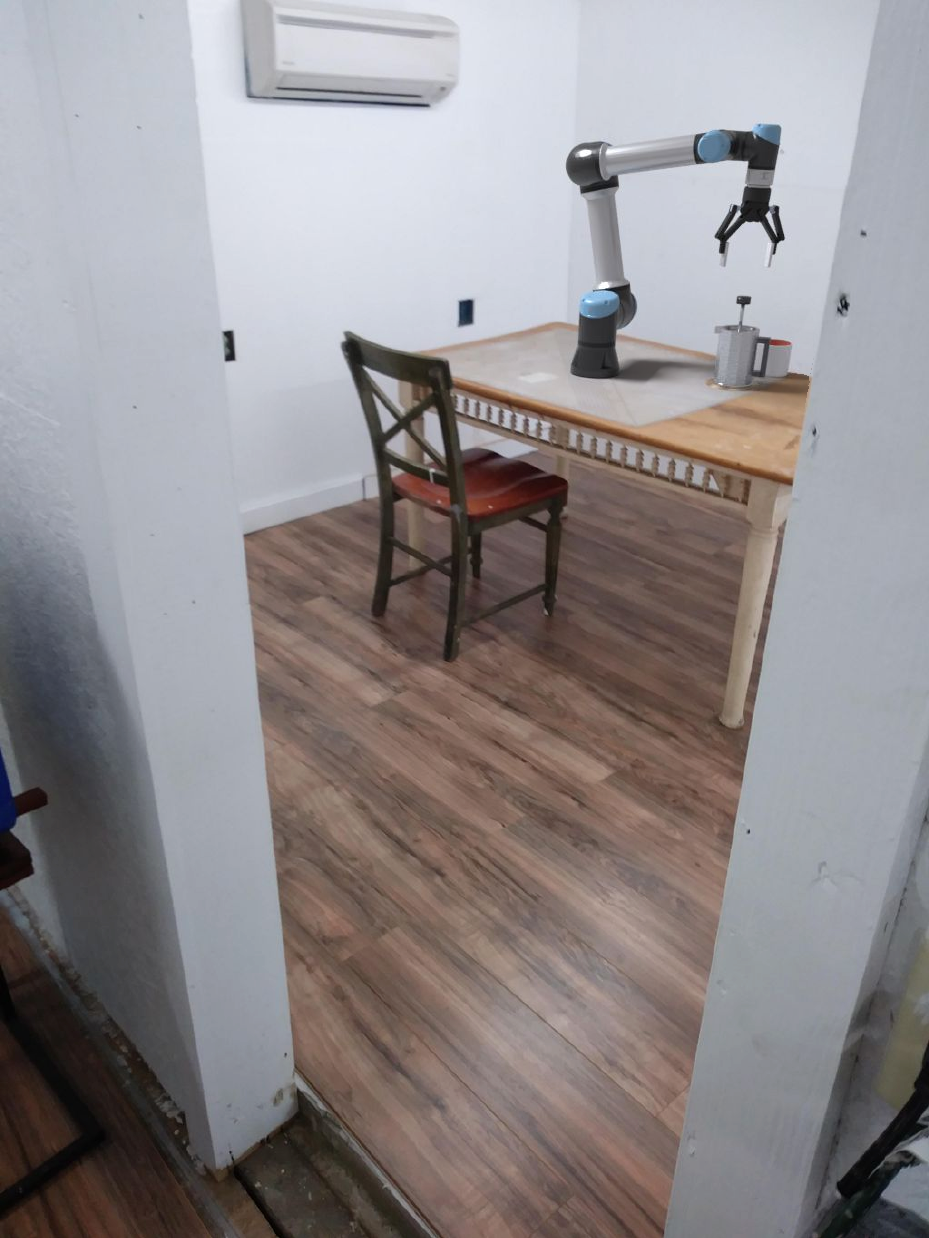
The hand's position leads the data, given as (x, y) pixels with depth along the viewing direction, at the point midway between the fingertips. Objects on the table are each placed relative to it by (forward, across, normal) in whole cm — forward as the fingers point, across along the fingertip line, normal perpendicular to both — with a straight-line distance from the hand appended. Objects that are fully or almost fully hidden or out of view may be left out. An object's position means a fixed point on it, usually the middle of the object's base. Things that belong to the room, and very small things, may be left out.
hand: (744, 266), depth 277 cm
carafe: (+32, -2, -10) cm, 33 cm away
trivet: (+32, -2, -10) cm, 34 cm away
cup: (+32, +15, +1) cm, 35 cm away
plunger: (+18, -2, -10) cm, 20 cm away
